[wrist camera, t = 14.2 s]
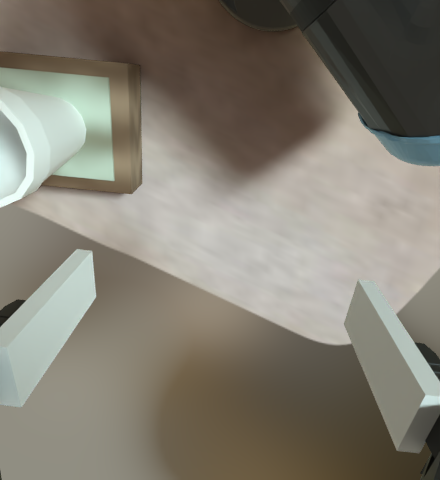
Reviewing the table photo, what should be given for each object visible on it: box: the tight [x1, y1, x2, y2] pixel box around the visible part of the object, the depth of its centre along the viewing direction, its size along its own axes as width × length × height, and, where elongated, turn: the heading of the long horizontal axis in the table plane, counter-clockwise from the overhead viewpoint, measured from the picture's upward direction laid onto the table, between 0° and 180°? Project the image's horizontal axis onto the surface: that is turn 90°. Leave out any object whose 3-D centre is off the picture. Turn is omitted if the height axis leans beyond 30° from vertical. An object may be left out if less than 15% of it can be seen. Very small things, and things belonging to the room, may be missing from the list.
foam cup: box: [0, 87, 86, 208], centre depth 31 cm, size 10×9×13 cm
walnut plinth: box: [0, 51, 142, 194], centre depth 39 cm, size 14×16×5 cm
